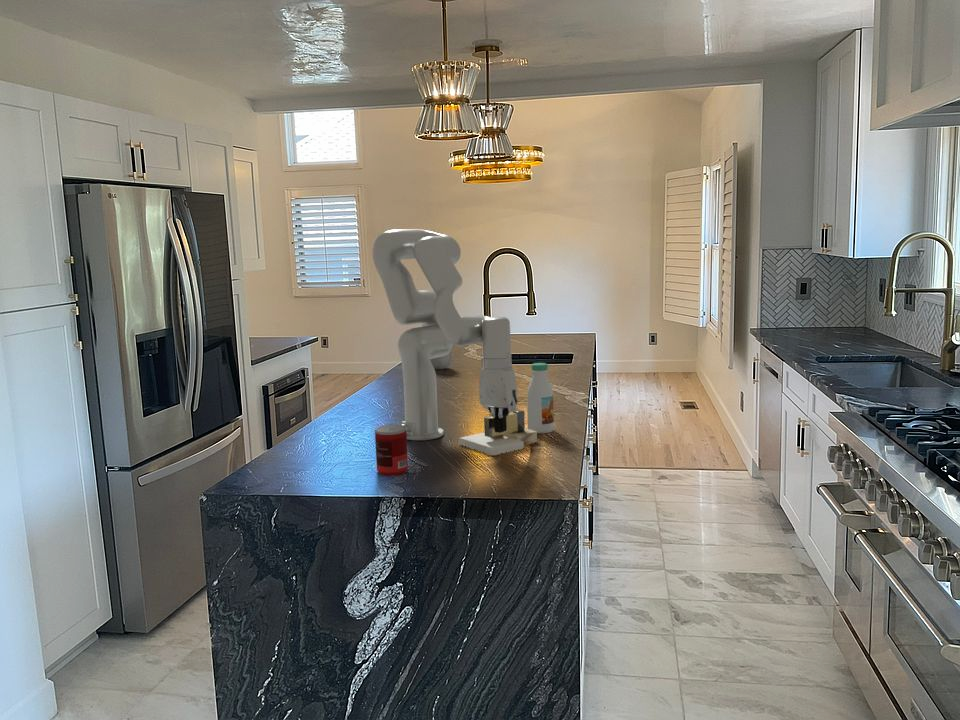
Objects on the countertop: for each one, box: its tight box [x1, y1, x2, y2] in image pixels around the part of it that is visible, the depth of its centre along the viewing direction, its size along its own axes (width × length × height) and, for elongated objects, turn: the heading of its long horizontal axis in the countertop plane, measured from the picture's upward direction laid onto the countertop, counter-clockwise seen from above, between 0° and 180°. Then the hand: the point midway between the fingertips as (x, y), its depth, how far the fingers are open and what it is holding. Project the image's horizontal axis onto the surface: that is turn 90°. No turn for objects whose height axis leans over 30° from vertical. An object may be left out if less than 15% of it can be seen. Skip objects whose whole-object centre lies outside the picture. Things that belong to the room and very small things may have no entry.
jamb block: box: [503, 428, 538, 446], centre depth 221 cm, size 7×7×3 cm
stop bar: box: [483, 409, 526, 437], centre depth 218 cm, size 13×3×5 cm, turn 125°
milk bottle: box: [526, 362, 555, 434], centre depth 231 cm, size 8×8×20 cm
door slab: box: [458, 415, 525, 456], centre depth 217 cm, size 10×15×8 cm
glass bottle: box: [430, 350, 452, 370], centre depth 344 cm, size 10×10×28 cm
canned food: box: [374, 424, 409, 477], centre depth 196 cm, size 8×8×11 cm
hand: (500, 431), depth 213 cm, fingers closed
